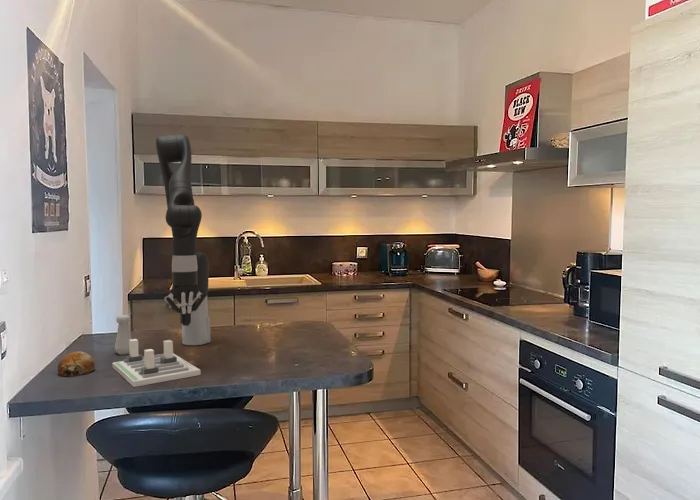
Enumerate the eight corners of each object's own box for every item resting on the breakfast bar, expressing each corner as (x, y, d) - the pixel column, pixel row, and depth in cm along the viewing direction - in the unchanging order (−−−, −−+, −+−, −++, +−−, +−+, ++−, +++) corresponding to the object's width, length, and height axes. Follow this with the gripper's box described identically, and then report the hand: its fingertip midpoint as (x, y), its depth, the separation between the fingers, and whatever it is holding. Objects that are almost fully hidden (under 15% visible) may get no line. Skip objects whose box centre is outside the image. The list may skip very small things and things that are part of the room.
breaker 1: (139, 360, 175) (138, 338, 175) (142, 362, 173) (141, 339, 172) (126, 362, 173) (125, 339, 172) (128, 364, 170) (128, 341, 170)
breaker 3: (173, 361, 173) (172, 339, 173) (176, 363, 171) (176, 341, 171) (160, 363, 171) (159, 341, 171) (163, 365, 169) (163, 343, 168)
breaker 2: (155, 371, 162) (154, 348, 162) (158, 374, 160) (157, 350, 159) (141, 374, 160) (140, 350, 159) (144, 376, 158) (143, 352, 157)
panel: (173, 357, 184) (173, 350, 184) (200, 374, 165) (200, 367, 165) (112, 367, 173) (112, 360, 173) (133, 386, 154) (133, 378, 153)
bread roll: (98, 382, 170) (105, 356, 173) (73, 376, 161) (82, 349, 164) (72, 379, 173) (80, 353, 176) (47, 373, 164) (55, 346, 167)
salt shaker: (126, 355, 187) (125, 317, 186) (111, 355, 188) (110, 316, 187) (136, 351, 193) (135, 314, 192) (121, 350, 194) (120, 313, 193)
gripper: (201, 267, 180) (201, 321, 181) (159, 270, 172) (160, 325, 173) (209, 269, 173) (210, 324, 174) (167, 271, 166) (168, 329, 167)
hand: (185, 325), depth 174 cm, fingers closed
